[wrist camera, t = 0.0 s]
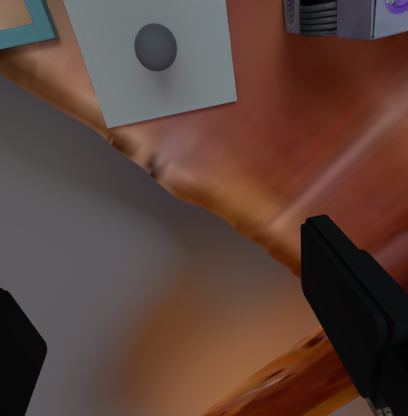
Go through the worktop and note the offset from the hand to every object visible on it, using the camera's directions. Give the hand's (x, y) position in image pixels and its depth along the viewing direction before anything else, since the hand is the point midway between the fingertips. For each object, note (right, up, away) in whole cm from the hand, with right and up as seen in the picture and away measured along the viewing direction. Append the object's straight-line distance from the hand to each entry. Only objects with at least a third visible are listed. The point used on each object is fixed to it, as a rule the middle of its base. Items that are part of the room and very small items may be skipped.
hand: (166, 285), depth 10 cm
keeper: (-5, +24, +22) cm, 33 cm away
